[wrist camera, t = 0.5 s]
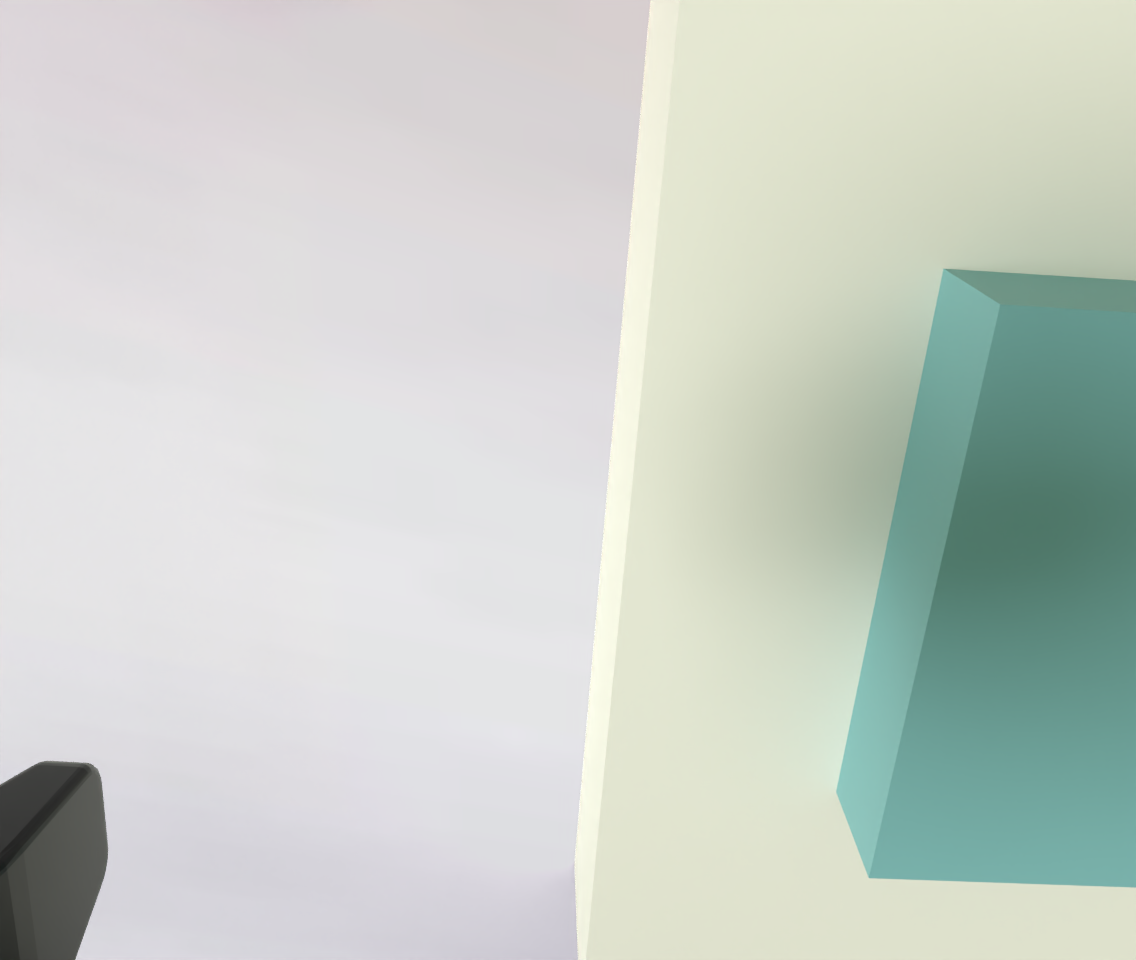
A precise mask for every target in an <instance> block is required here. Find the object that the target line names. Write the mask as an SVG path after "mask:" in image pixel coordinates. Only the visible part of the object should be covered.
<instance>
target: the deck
mask: <svg viewBox="0 0 1136 960" xmlns="http://www.w3.org/2000/svg"><path fill="white" fill-rule="evenodd" d="M943 269H956V270H972V271H989V272H1005V273H1021V274H1037V275H1053V276H1069V277H1085V278H1102V279H1118V280H1134V281H1136V0H650V10H649V21H648V33H647V44H646V55H645V67H644V78H643V90H642V101H641V112H640V124H639V135H638V146H637V158H636V169H635V180H634V192H633V203H632V215H631V226H630V237H629V249H628V260H627V271H626V283H625V294H624V306H623V317H622V328H621V340H620V351H619V362H618V374H617V385H616V396H615V408H614V419H613V431H612V442H611V453H610V465H609V476H608V487H607V499H606V510H605V521H604V533H603V544H602V556H601V567H600V578H599V590H598V601H597V612H596V624H595V635H594V647H593V658H592V669H591V681H590V692H589V703H588V715H587V726H586V737H585V749H584V760H583V772H582V783H581V794H580V806H579V817H578V828H577V840H576V851H575V862H574V866H575V892H576V918H577V945H578V960H1136V888H1134V887H1105V886H1077V885H1048V884H1020V883H991V882H963V881H934V880H906V879H877V878H868V875H867V872H866V870H865V867H864V864H863V862H862V859H861V856H860V854H859V851H858V849H857V846H856V843H855V841H854V838H853V835H852V833H851V830H850V827H849V825H848V822H847V819H846V817H845V814H844V812H843V809H842V806H841V804H840V801H839V798H838V796H837V793H836V790H837V785H838V780H839V775H840V770H841V765H842V761H843V756H844V751H845V746H846V741H847V736H848V731H849V727H850V722H851V717H852V712H853V707H854V702H855V697H856V692H857V688H858V683H859V678H860V673H861V668H862V663H863V658H864V653H865V649H866V644H867V639H868V634H869V629H870V624H871V619H872V614H873V610H874V605H875V600H876V595H877V590H878V585H879V580H880V575H881V571H882V566H883V561H884V556H885V551H886V546H887V541H888V536H889V532H890V527H891V522H892V517H893V512H894V507H895V502H896V498H897V493H898V488H899V483H900V478H901V473H902V468H903V463H904V459H905V454H906V449H907V444H908V439H909V434H910V429H911V424H912V420H913V415H914V410H915V405H916V400H917V395H918V390H919V385H920V381H921V376H922V371H923V366H924V361H925V356H926V351H927V346H928V342H929V337H930V332H931V327H932V322H933V317H934V312H935V308H936V303H937V298H938V293H939V288H940V283H941V278H942V273H943Z"/></svg>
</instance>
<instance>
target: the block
mask: <svg viewBox="0 0 1136 960" xmlns="http://www.w3.org/2000/svg"><path fill="white" fill-rule="evenodd" d="M836 793H837V796H838V798H839V801H840V804H841V806H842V809H843V812H844V814H845V817H846V819H847V822H848V825H849V827H850V830H851V833H852V835H853V838H854V841H855V843H856V846H857V849H858V851H859V854H860V856H861V859H862V862H863V864H864V867H865V870H866V872H867V875H868V878H877V879H906V880H934V881H963V882H991V883H1020V884H1048V885H1077V886H1105V887H1134V888H1136V281H1134V280H1118V279H1102V278H1085V277H1069V276H1053V275H1037V274H1021V273H1005V272H989V271H972V270H956V269H943V273H942V278H941V283H940V288H939V293H938V298H937V303H936V308H935V312H934V317H933V322H932V327H931V332H930V337H929V342H928V346H927V351H926V356H925V361H924V366H923V371H922V376H921V381H920V385H919V390H918V395H917V400H916V405H915V410H914V415H913V420H912V424H911V429H910V434H909V439H908V444H907V449H906V454H905V459H904V463H903V468H902V473H901V478H900V483H899V488H898V493H897V498H896V502H895V507H894V512H893V517H892V522H891V527H890V532H889V536H888V541H887V546H886V551H885V556H884V561H883V566H882V571H881V575H880V580H879V585H878V590H877V595H876V600H875V605H874V610H873V614H872V619H871V624H870V629H869V634H868V639H867V644H866V649H865V653H864V658H863V663H862V668H861V673H860V678H859V683H858V688H857V692H856V697H855V702H854V707H853V712H852V717H851V722H850V727H849V731H848V736H847V741H846V746H845V751H844V756H843V761H842V765H841V770H840V775H839V780H838V785H837V790H836Z"/></svg>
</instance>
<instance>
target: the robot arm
mask: <svg viewBox="0 0 1136 960" xmlns="http://www.w3.org/2000/svg"><path fill="white" fill-rule="evenodd" d="M107 859H108V843H107V832H106V822H105V812H104V802H103V791H102V782H101V777H100V774H99V772H98V770H97V768H95V767H94V766H93V765H92V764H89V763H79V762H60V761H44V762H40V763H38V764H36V765H34V766H32V767H30V768H28V769H26V770H25V771H23V772H21V773H20V774H18V775H16V776H14V777H13V778H11V779H9V780H8V781H6V782H4V783H2V784H1V785H0V960H75V959H76V956H77V953H78V950H79V947H80V944H81V942H82V939H83V936H84V933H85V930H86V928H87V925H88V922H89V919H90V916H91V913H92V911H93V908H94V905H95V902H96V899H97V896H98V894H99V891H100V888H101V885H102V882H103V879H104V875H105V871H106V866H107Z"/></svg>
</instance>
